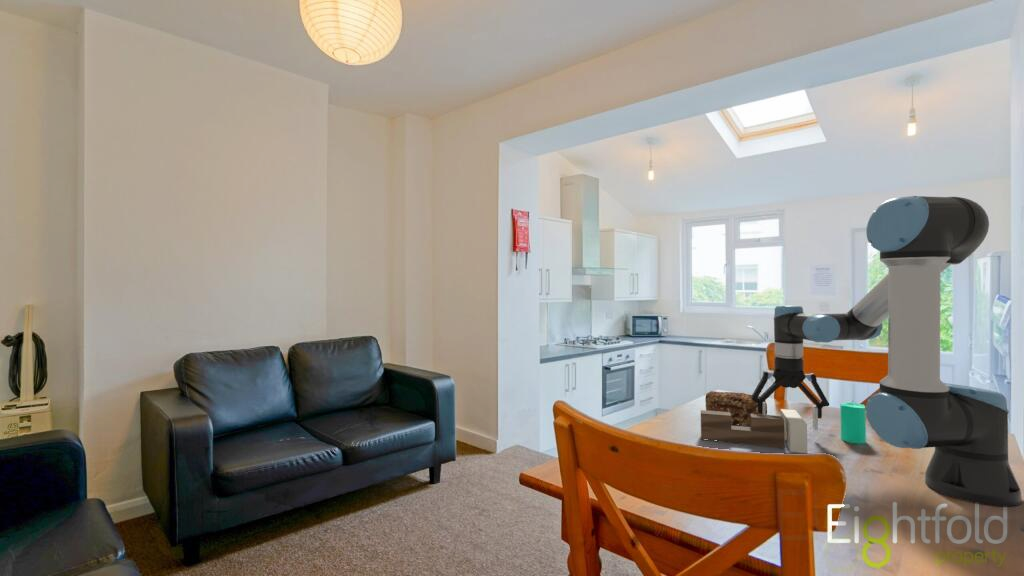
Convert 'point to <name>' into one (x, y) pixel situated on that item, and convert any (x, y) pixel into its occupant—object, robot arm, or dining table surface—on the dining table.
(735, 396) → the bread
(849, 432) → the candle
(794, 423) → the cream bar
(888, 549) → the dining table surface
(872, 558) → the dining table surface
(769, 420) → the walnut rail
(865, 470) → the dining table surface
